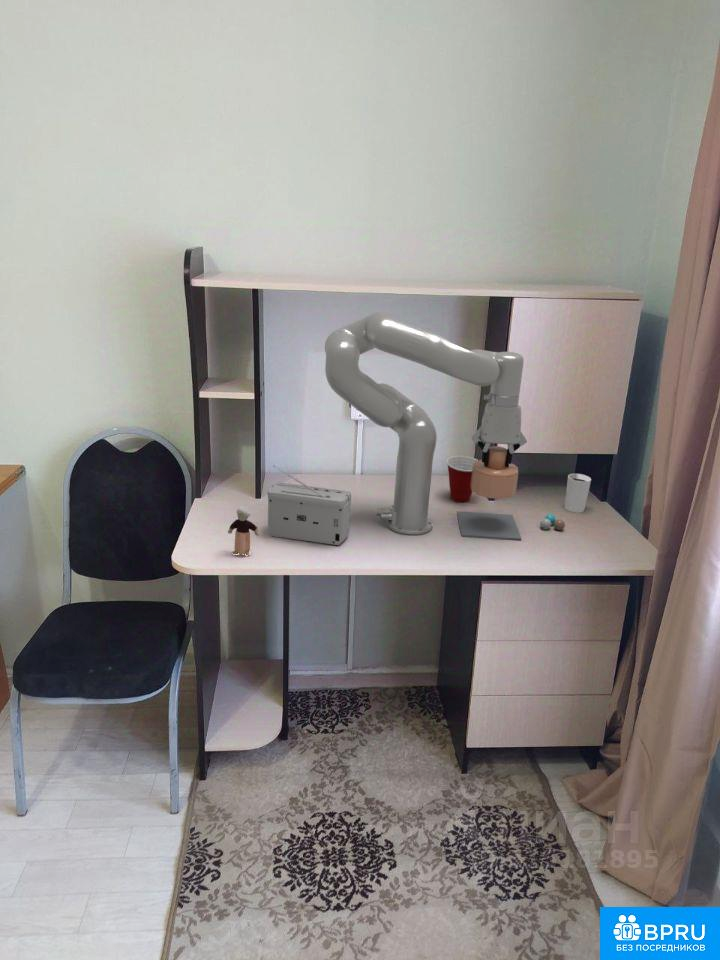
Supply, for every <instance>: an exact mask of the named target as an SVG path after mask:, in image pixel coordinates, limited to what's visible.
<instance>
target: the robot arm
mask: <svg viewBox="0 0 720 960" xmlns="http://www.w3.org/2000/svg"><path fill="white" fill-rule="evenodd" d="M374 349H377V350H379V351H381V352H384V353H387V354H390V355H393V356H396V357H399V358H402V359H405V360H408V361H411V362H414V363H416V364H419V365H422V366H424V367H426V368H428V369H432V370H434V371H438V372H440V373H442V374H444V375H447V376H450V377H452V378H454V379H457V380H460V381H462V382H465V383H469V384H472V385H474V386H479V387H488V386H490V391H489V393H488V394H484V396H483V400H484V401H488V402H487V403H486V404H485V407H484V411H483V414H482V419H481V425H480V427H479V428H478V429H477V430H476V431H475V432H474V433H473V434H472V435H471V437H470V438H471V440H472V441H473V442H474V443H475V444H476V445H477V446H478V447H479V448H480V449H481V451H482V455H481V460H482V462H484V466H488V458H489V452H488V448H489V447H491V444H498V445H507V448H506V449H507V456H506V464H505V467H506V468H508V467H509V464H511V463H512V458H513V454H515V452H516V451H517V450H518V449H519V448H521V447H523V446H524V445H526V444H527V443H528V440H527V438H526V437H525V436H524V434H523V433H522V430H521V428H522V407H521V406H520V405H519V400H520V393H521V386H522V385H521V384H522V379H523V377H522V376H523V371H524V370H523V369H524V364H525V363H524V357H523V355H522V354H520V353H517V352H514V351H500V352H499V351H490V350H484V349H471V350H469V349H466V348H463V347H461V346H460V345H457V344H456V343H453V342H451V341H450V340H449V339H447V338H445V337H443V336H442V335H440V334H438V333H436V332H434V331H431V330H428V329H425V328H423V327H419V326H416V325H414V324H410V323H408V322H405V321H402V320H400V319H396V318H395V317H393V316H392V315H391V314H389V313H388V312H385V311H380V312H375V313H372V314H369V315H367V316H365V317H363V318H361V319H359V320H356V321H354V322H352V323H349V324H347V325H345V326H342V327H340V328H338V329H336V330H334V331H333V332H331V333H330V334H329V335H328V336H327V337H326V339H325V343H324V351H325V364H324V366H325V369H324V370H325V372H324V373H325V376H326V380H327V383H328V385H329V386H330V388H331V389H332V391H333V392H334V393H335V394H336V395H338V396H339V397H340V398H341V399H343V400H344V401H345V402H347V403H348V404H349V405H351V406H352V407H353V408H354V409H355V410H357V411H358V412H359V413H361V414H362V415H364V416H365V417H366V418H367V419H369V421H372V422H373V423H374V424H375V425H377V426H379V427H383V428H390V429H392V431H394V432H395V433H397V437H398V441H399V443H398V451H397V458H396V466H395V468H396V469H395V481H394V482H395V483H394V493H393V494H394V496H393V505H391V508H389V507H388V508H387V509H384V508H376V516H378V517H379V516H380V519H382V520H383V519H385V520H386V525H387V527H388V529H390V530H391V531H393V532H396V533H398V534H404V535H411V536H413V535H415V536H416V535H418V536H419V535H424V534H426V533H429V532H430V531H431V530H432V528H433V521H432V520H431V519H430V518H429V517H428V515H429V505H430V504H429V503H430V495H431V494H430V493H431V485H432V474H433V473H432V472H433V471H432V470H433V462H434V454H435V450H436V446H437V440H438V439H437V429H436V426H435V425H434V423H433V421H432V420H431V418H430V416H429V415H428V414H427V413H426V411H425V410H424V409H423V408H421V406H419V405H418V404H417V403H415V402H413V400H411V399H410V398H408V397H407V396H406V395H404V394H403V393H402V392H400V391H399V390H398V389H396V388H394V386H392V385H390V384H387V383H383V382H381V383H377V382H376V381H375V380H374V379H372V378H371V377H370V376H369V375H367V374H365V373H364V372H362V370H361V369H360V367H359V362H360V361H359V360H360V355H362V354H364V353H367V352H369V351H372V350H374ZM480 438H481V439H480Z"/></svg>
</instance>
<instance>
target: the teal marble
mask: <svg viewBox="0 0 720 960" xmlns="http://www.w3.org/2000/svg"><path fill="white" fill-rule="evenodd" d="M545 518H546V519H549V520H550V521H551V526H552V525H554V522H555V521H556V520H557V518H556V517H555V515H554V514H552V513H549V514H547V515H545V517H544V519H545Z"/></svg>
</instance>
